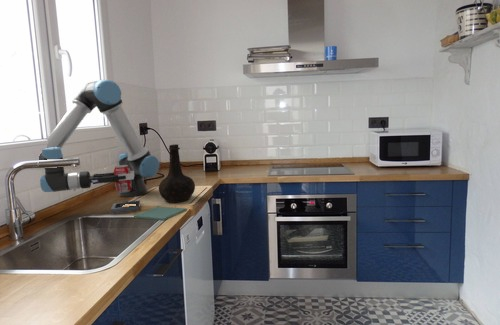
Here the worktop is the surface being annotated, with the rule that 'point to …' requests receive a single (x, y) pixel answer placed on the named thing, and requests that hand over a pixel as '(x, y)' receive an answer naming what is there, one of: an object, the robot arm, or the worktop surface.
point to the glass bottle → (176, 180)
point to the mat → (160, 213)
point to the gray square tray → (119, 209)
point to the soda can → (124, 184)
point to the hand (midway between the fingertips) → (133, 174)
